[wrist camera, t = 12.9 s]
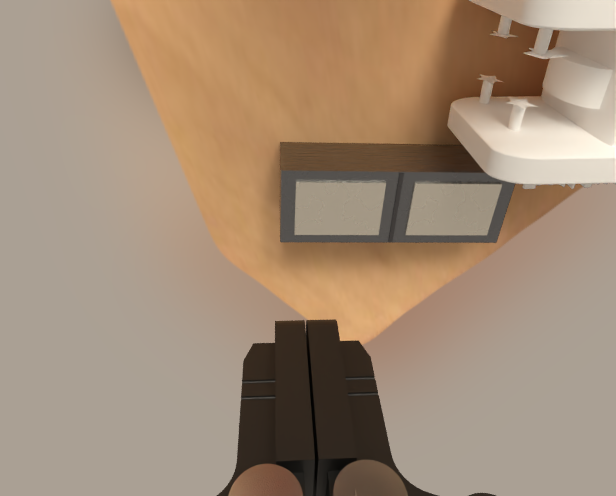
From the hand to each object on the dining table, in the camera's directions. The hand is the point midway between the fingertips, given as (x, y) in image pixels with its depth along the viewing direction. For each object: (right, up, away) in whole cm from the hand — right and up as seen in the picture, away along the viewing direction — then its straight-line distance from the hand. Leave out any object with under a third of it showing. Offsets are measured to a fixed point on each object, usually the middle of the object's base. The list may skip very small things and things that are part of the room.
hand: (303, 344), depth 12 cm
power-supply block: (+6, +8, +27) cm, 29 cm away
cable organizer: (+18, +17, +23) cm, 33 cm away
